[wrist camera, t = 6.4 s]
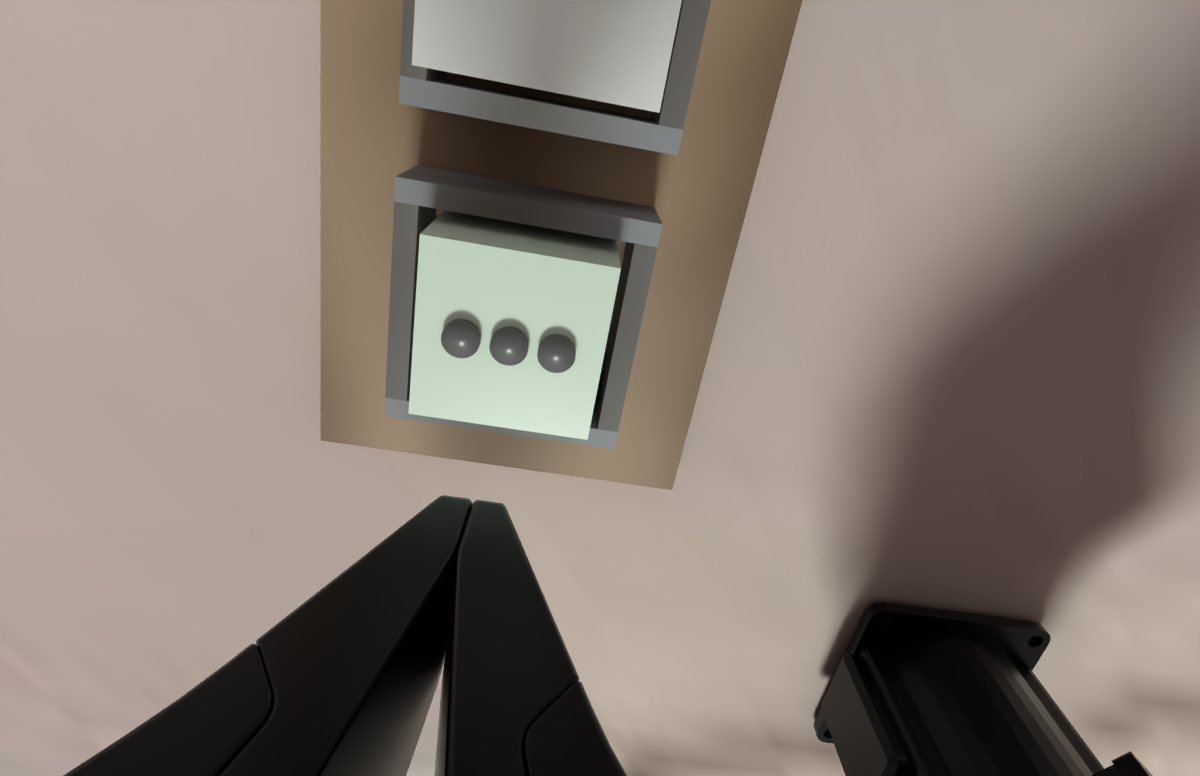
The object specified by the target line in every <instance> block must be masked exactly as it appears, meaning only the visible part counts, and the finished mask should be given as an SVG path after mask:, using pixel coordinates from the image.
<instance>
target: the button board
mask: <svg viewBox="0 0 1200 776" xmlns="http://www.w3.org/2000/svg"><path fill="white" fill-rule="evenodd" d="M801 3H802V0H682V2H681V7H680V12H679V17H678V22H677V27H676V32H675V37H674V42H673V47H672V52H671V57H670V62H669V67H668V72H667V77H666V82H665V87H664V92H663V97H662V102H661V107H660V112H659V113H658V112H652V111H647V110H642V109H637V108H632V107H626V106H621V105H616V104H611V103H606V102H601V101H595V100H590V99H585V98H580V97H575V96H569V95H564V94H559V93H554V92H549V91H544V90H538V89H533V88H528V87H523V86H518V85H513V84H507V83H502V82H497V81H492V80H487V79H481V78H476V77H471V76H466V75H461V74H456V73H450V72H445V71H440V70H435V69H430V68H424V67H419V66H414V65H412V50H413V30H414V11H415V0H321V440H322V441H329V442H337V443H344V444H351V445H358V446H365V447H372V448H379V449H386V450H393V451H400V452H407V453H414V454H421V455H429V456H436V457H443V458H450V459H457V460H464V461H471V462H478V463H485V464H492V465H499V466H506V467H514V468H521V469H528V470H535V471H542V472H549V473H556V474H563V475H570V476H577V477H584V478H591V479H598V480H606V481H613V482H620V483H627V484H634V485H641V486H648V487H655V488H662V489H669V490H672V488H673V484H674V480H675V477H676V473H677V469H678V465H679V462H680V458H681V454H682V450H683V447H684V443H685V439H686V435H687V432H688V428H689V424H690V420H691V417H692V413H693V409H694V405H695V402H696V398H697V394H698V390H699V387H700V383H701V379H702V375H703V372H704V368H705V364H706V360H707V356H708V353H709V349H710V345H711V341H712V338H713V334H714V330H715V326H716V323H717V319H718V315H719V311H720V308H721V304H722V300H723V296H724V293H725V289H726V285H727V281H728V278H729V274H730V270H731V266H732V263H733V259H734V255H735V251H736V248H737V244H738V240H739V236H740V233H741V229H742V225H743V221H744V217H745V214H746V210H747V206H748V202H749V199H750V195H751V191H752V187H753V184H754V180H755V176H756V172H757V169H758V165H759V161H760V157H761V154H762V150H763V146H764V142H765V139H766V135H767V131H768V127H769V124H770V120H771V116H772V112H773V109H774V105H775V101H776V97H777V94H778V90H779V86H780V82H781V79H782V75H783V71H784V67H785V63H786V60H787V56H788V52H789V48H790V45H791V41H792V37H793V33H794V30H795V26H796V22H797V18H798V15H799V11H800V7H801ZM445 210H446V211H452V212H458V213H464V214H469V215H475V216H481V217H486V218H492V219H498V220H504V221H509V222H515V223H521V224H527V225H532V226H538V227H544V228H550V229H555V230H561V231H567V232H572V233H578V234H584V235H590V236H595V237H601V238H607V239H613V240H616V242H617V248H618V254H619V260H620V266H621V271H620V276H619V281H618V286H617V291H616V297H615V302H614V307H613V312H612V317H611V322H610V327H609V333H608V338H607V343H606V348H605V353H604V358H603V363H602V368H601V374H600V379H599V384H598V389H597V394H596V399H595V404H594V409H593V415H592V420H591V425H590V430H589V435H588V440H585V439H578V438H571V437H564V436H557V435H551V434H544V433H537V432H530V431H523V430H516V429H510V428H503V427H496V426H489V425H482V424H475V423H469V422H462V421H455V420H448V419H441V418H435V417H428V416H421V415H414V414H408V413H409V397H410V381H411V365H412V349H413V333H414V317H415V301H416V285H417V270H418V254H419V238H420V233H421V232H423V231H424V230H425V229H426V228H427V227H428V226H429V225H430V224H431V223H432V222H433V221H434V220H435V219H436V218H437V217H438V216H439V215H440V214H441V213H442V212H444V211H445Z"/></svg>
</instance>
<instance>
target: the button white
mask: <svg viewBox="0 0 1200 776" xmlns="http://www.w3.org/2000/svg"><path fill="white" fill-rule="evenodd" d="M681 2H682V0H415V11H414V30H413V50H412V65H414V66H419V67H424V68H430V69H435V70H440V71H445V72H450V73H456V74H461V75H466V76H471V77H476V78H481V79H487V80H492V81H497V82H502V83H507V84H513V85H518V86H523V87H528V88H533V89H538V90H544V91H549V92H554V93H559V94H564V95H569V96H575V97H580V98H585V99H590V100H595V101H601V102H606V103H611V104H616V105H621V106H626V107H632V108H637V109H642V110H647V111H652V112H658V113H659V112H660V107H661V102H662V97H663V92H664V87H665V82H666V77H667V72H668V67H669V62H670V57H671V52H672V47H673V42H674V37H675V32H676V27H677V22H678V17H679V12H680V7H681Z"/></svg>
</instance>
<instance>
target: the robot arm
mask: <svg viewBox="0 0 1200 776" xmlns="http://www.w3.org/2000/svg"><path fill="white" fill-rule="evenodd" d="M881 617H883V618H881ZM878 618H881V619H878ZM1049 642H1050V635H1049V634H1048V632H1047V631H1046V630H1045V629H1044V628H1043V626H1042V625H1041V624H1040V623H1036V622H1031V621H1023V620H1015V619H1008V618H1000V617H992V616H985V615H977V614H969V613H961V612H954V611H946V610H938V609H930V608H923V607H915V606H907V605H900V604H892V603H884V602H881V603H875V604H872V605H871V606H869V607H868V608H867V609H866V610H865V612H864V614H863V616H862V618H861V621H860V623H859V625H858V627H857V629H856V632H855V634H854V636H853V638H852V640H851V643H850V645H849V647H848V649H847V651H846V654H845V656H844V657H843V658H842V659H841V661H840V664H839V666H838V668H837V670H836V673H835V675H834V677H833V679H832V681H831V684H830V686H829V688H828V690H827V692H826V695H825V697H824V699H823V701H822V703H821V709H820V711H819V713H818V715H817V717H816V720H815V722H814V728H815V731H816V734H817V737H818V739H819V740H821V741H822V742H826V743H834V745H835V747H836V750H837V753H838V756H839V758H840V761H841V764H842V766H843V769H844V772H845V775H846V776H1153V775H1152V774H1151V773H1150V772H1149V771H1148V770H1147V769H1146V768H1145V767H1144V766H1143V765H1142V763H1141V762H1140V761H1139V760H1138V759H1137V758H1136V757H1135V756H1134V755H1133V754H1132V752H1131V751H1130V752H1128V753H1126V754H1124V755H1122V756H1120V757H1118V758H1116V759H1114V760H1112V762H1113V764H1114V765H1112V766H1110V767H1108V768H1105V769H1104V768H1103V766H1102V765H1101V764H1100V762H1099V761H1098V760H1097V758H1096V757H1095V756H1094V754H1093V753H1092V751H1091V750H1090V749H1089V747H1088V746H1087V745H1086V743H1085V742H1084V741H1083V739H1082V738H1081V737H1080V735H1079V734H1078V733H1077V731H1076V730H1075V729H1074V727H1073V726H1072V725H1071V723H1070V722H1069V721H1068V719H1067V718H1066V717H1065V715H1064V714H1063V712H1062V711H1061V710H1060V708H1059V707H1058V706H1057V704H1056V703H1055V702H1054V700H1053V699H1052V698H1051V696H1050V695H1049V694H1048V692H1047V691H1046V690H1045V688H1044V687H1043V686H1042V684H1041V683H1040V682H1039V680H1038V679H1037V678H1036V676H1035V675H1034V674H1033V672H1032V670H1033V668H1034V667H1035V665H1036V663H1037V662H1038V660H1039V659H1040V657H1041V655H1042V654H1043V652H1044V651H1045V649H1046V647H1047V646H1048V644H1049ZM444 659H445V661H444ZM443 663H444V670H443V680H442V689H441V701H440V714H439V726H438V739H437V751H436V763H435V776H627V775H626V773H625V771H624V769H623V768H622V766H621V764H620V762H619V760H618V759H617V757H616V755H615V753H614V752H613V750H612V748H611V746H610V744H609V742H608V740H607V738H606V736H605V734H604V731H603V729H602V727H601V725H600V723H599V721H598V719H597V717H596V715H595V713H594V710H593V708H592V706H591V704H590V701H589V699H588V697H587V694H586V692H585V690H584V687H583V685H582V683H581V682H579V676H578V674H577V672H576V670H575V667H574V665H573V663H572V660H571V658H570V656H569V653H568V651H567V649H566V646H565V644H564V642H563V639H562V637H561V635H560V632H559V630H558V628H557V625H556V623H555V621H554V618H553V616H552V614H551V611H550V609H549V607H548V604H547V602H546V600H545V597H544V595H543V593H542V590H541V588H540V586H539V583H538V581H537V579H536V577H535V574H534V572H533V570H532V567H531V565H530V563H529V560H528V558H527V556H526V553H525V551H524V549H523V546H522V544H521V542H520V539H519V537H518V535H517V532H516V530H515V528H514V525H513V523H512V521H511V518H510V516H509V514H508V511H507V509H506V507H505V506H504V505H503V504H502V503H496V502H489V501H481V500H477V501H475V502H474V503H473V504H472V502H471V500H469V499H467V498H460V497H452V496H440V497H439V498H437V499H436V500H435V501H433V502H432V503H431V504H430V505H428V506H427V507H426V508H425V509H423V510H422V511H421V512H419V513H418V514H417V515H416V516H414V517H413V518H412V519H410V520H409V521H408V522H407V523H405V524H404V525H403V526H402V527H400V528H399V529H398V530H396V531H395V532H394V533H393V534H391V535H390V536H389V537H388V538H386V539H385V540H384V541H382V542H381V543H380V544H379V545H377V546H376V547H375V548H373V549H372V550H371V551H370V552H368V553H367V554H366V555H365V556H363V557H362V558H361V559H359V560H358V561H357V562H356V563H354V564H353V565H352V566H351V567H349V568H348V569H347V570H345V571H344V572H343V573H342V574H340V575H339V576H338V577H337V578H335V579H334V580H333V581H331V582H330V583H329V584H328V585H326V586H325V587H324V588H322V589H321V590H320V591H319V592H317V593H316V594H315V595H314V596H312V597H311V598H310V599H308V600H307V601H306V602H305V603H303V604H302V605H301V606H300V607H298V608H297V609H296V610H294V611H293V612H292V613H291V614H289V615H288V616H287V617H286V618H284V619H283V620H282V621H280V622H279V623H278V624H277V625H275V626H274V627H273V628H271V629H270V630H269V631H268V632H266V633H265V634H264V635H263V636H261V637H260V638H259V639H258V640H257V641H256V645H255V644H251V645H249V646H248V647H247V648H246V649H244V650H243V651H242V652H240V653H239V654H238V655H237V656H235V657H234V658H233V659H231V660H230V661H229V662H228V663H226V664H225V665H224V666H222V667H221V668H220V669H218V670H217V671H216V672H214V673H213V674H212V675H210V676H209V677H208V678H206V679H205V680H204V681H202V682H201V683H200V684H198V685H197V686H196V687H194V688H193V689H192V690H190V691H189V692H188V693H186V694H185V695H184V696H182V697H181V698H179V699H178V700H177V701H175V702H174V703H172V704H171V705H169V706H168V707H166V708H165V709H163V710H162V711H160V712H159V713H157V714H156V715H154V716H153V717H151V718H150V719H149V720H147V721H146V722H144V723H143V724H141V725H140V726H138V727H137V728H135V729H134V730H132V731H131V732H129V733H128V734H126V735H125V736H123V737H122V738H120V739H119V740H117V741H116V742H114V743H113V744H111V745H110V746H108V747H107V748H105V749H103V750H102V751H100V752H99V753H97V754H96V755H94V756H93V757H91V758H90V759H88V760H87V761H85V762H83V763H82V764H80V765H79V766H77V767H76V768H74V769H73V770H71V771H70V772H68V773H67V774H65V775H63V776H406V774H407V771H408V768H409V765H410V762H411V759H412V757H413V754H414V751H415V748H416V745H417V742H418V739H419V736H420V733H421V730H422V728H423V725H424V722H425V719H426V716H427V713H428V710H429V707H430V704H431V701H432V699H433V696H434V693H435V690H436V687H437V684H438V681H439V677H440V674H441V671H442V667H443Z"/></svg>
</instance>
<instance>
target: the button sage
mask: <svg viewBox="0 0 1200 776" xmlns="http://www.w3.org/2000/svg"><path fill="white" fill-rule="evenodd" d="M620 271H621V266H620V260H619V254H618V248H617V242H616V240H613V239H607V238H601V237H595V236H590V235H584V234H578V233H572V232H567V231H561V230H555V229H550V228H544V227H538V226H532V225H527V224H521V223H515V222H509V221H504V220H498V219H492V218H486V217H481V216H475V215H469V214H464V213H458V212H452V211H446V210H445V211H444V212H442V213H441V214H440V215H439V216H438V217H437V218H436V219H435V220H434V221H433V222H432V223H431V224H430V225H429V226H428V227H427V228H426V229H425V230H424V231H423V232H421V233H420V238H419V254H418V270H417V285H416V301H415V317H414V333H413V349H412V365H411V381H410V397H409V413H408V414H414V415H421V416H428V417H435V418H441V419H448V420H455V421H462V422H469V423H475V424H482V425H489V426H496V427H503V428H510V429H516V430H523V431H530V432H537V433H544V434H551V435H557V436H564V437H571V438H578V439H585V440H588V435H589V430H590V425H591V420H592V415H593V409H594V404H595V399H596V394H597V389H598V384H599V379H600V374H601V368H602V363H603V358H604V353H605V348H606V343H607V338H608V333H609V327H610V322H611V317H612V312H613V307H614V302H615V297H616V291H617V286H618V281H619V276H620Z"/></svg>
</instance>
